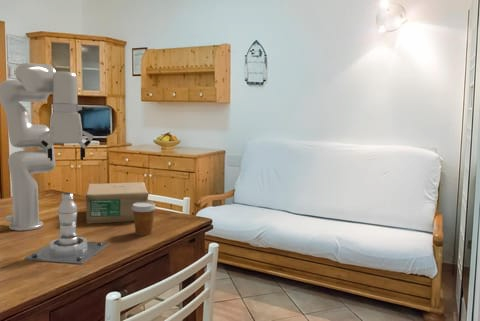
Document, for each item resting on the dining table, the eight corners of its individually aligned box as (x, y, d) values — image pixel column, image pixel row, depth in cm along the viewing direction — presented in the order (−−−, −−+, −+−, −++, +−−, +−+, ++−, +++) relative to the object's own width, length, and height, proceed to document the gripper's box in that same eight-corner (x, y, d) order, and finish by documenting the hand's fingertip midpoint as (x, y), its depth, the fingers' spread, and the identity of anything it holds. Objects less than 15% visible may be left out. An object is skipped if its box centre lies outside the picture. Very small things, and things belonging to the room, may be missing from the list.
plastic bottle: (72, 245, 152) (71, 191, 150) (82, 250, 148) (81, 193, 145) (54, 250, 147) (53, 193, 145) (64, 254, 143) (63, 196, 140)
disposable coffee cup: (131, 237, 166) (130, 207, 164) (132, 230, 175) (132, 201, 174) (155, 236, 168) (155, 206, 166) (155, 229, 177) (155, 201, 175)
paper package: (85, 225, 182) (85, 193, 180) (89, 210, 206) (88, 182, 204) (149, 221, 189) (149, 191, 187) (145, 208, 214) (145, 181, 212)
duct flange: (24, 259, 139) (24, 249, 138) (57, 241, 159) (56, 231, 158) (82, 263, 137) (82, 253, 136) (108, 244, 156) (108, 235, 156)
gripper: (91, 109, 149) (92, 158, 151) (37, 108, 142) (38, 159, 144) (93, 110, 142) (94, 160, 144) (36, 108, 135) (38, 162, 137)
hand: (66, 159), depth 144 cm, fingers open, 9 cm apart
